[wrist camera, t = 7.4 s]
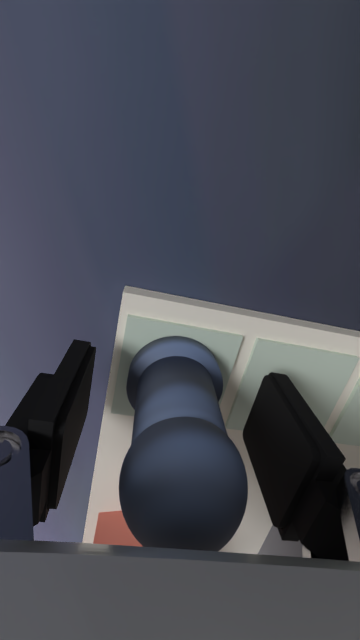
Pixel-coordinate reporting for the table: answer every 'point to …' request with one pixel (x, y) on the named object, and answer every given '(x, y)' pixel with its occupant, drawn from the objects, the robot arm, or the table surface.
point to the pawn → (180, 451)
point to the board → (231, 386)
